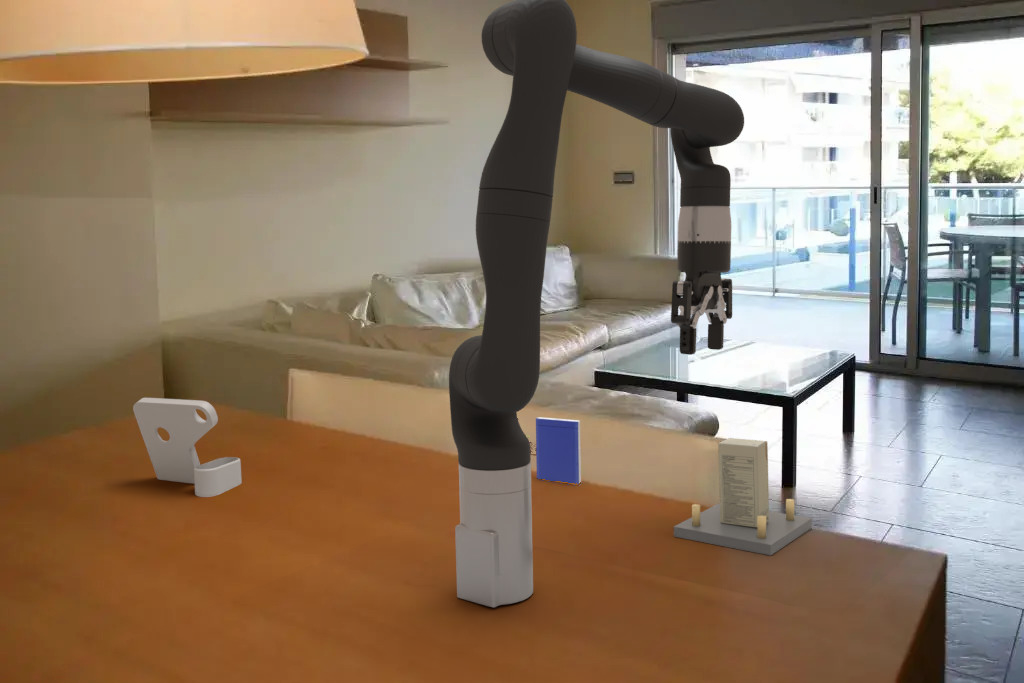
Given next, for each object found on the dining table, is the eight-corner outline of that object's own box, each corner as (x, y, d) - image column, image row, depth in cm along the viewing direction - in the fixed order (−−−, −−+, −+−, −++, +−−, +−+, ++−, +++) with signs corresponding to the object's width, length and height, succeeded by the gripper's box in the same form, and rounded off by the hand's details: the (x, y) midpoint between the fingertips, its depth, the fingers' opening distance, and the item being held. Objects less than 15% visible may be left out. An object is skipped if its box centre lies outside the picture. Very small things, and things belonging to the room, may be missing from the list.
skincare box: (769, 521, 144) (770, 440, 142) (759, 529, 140) (760, 446, 139) (728, 515, 147) (728, 436, 146) (717, 522, 144) (717, 441, 142)
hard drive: (578, 492, 168) (577, 421, 166) (536, 487, 172) (534, 418, 170) (581, 490, 169) (580, 420, 168) (540, 485, 173) (538, 416, 172)
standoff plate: (770, 555, 133) (771, 523, 133) (673, 536, 142) (673, 506, 142) (811, 528, 145) (812, 498, 144) (719, 512, 154) (719, 484, 154)
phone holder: (249, 492, 172) (244, 392, 170) (212, 508, 163) (206, 402, 161) (171, 485, 179) (165, 389, 177) (131, 499, 169) (124, 398, 167)
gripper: (704, 238, 131) (702, 358, 132) (750, 239, 142) (747, 349, 144) (656, 238, 136) (654, 354, 137) (703, 239, 147) (701, 346, 148)
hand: (701, 351), depth 140 cm, fingers open, 8 cm apart
